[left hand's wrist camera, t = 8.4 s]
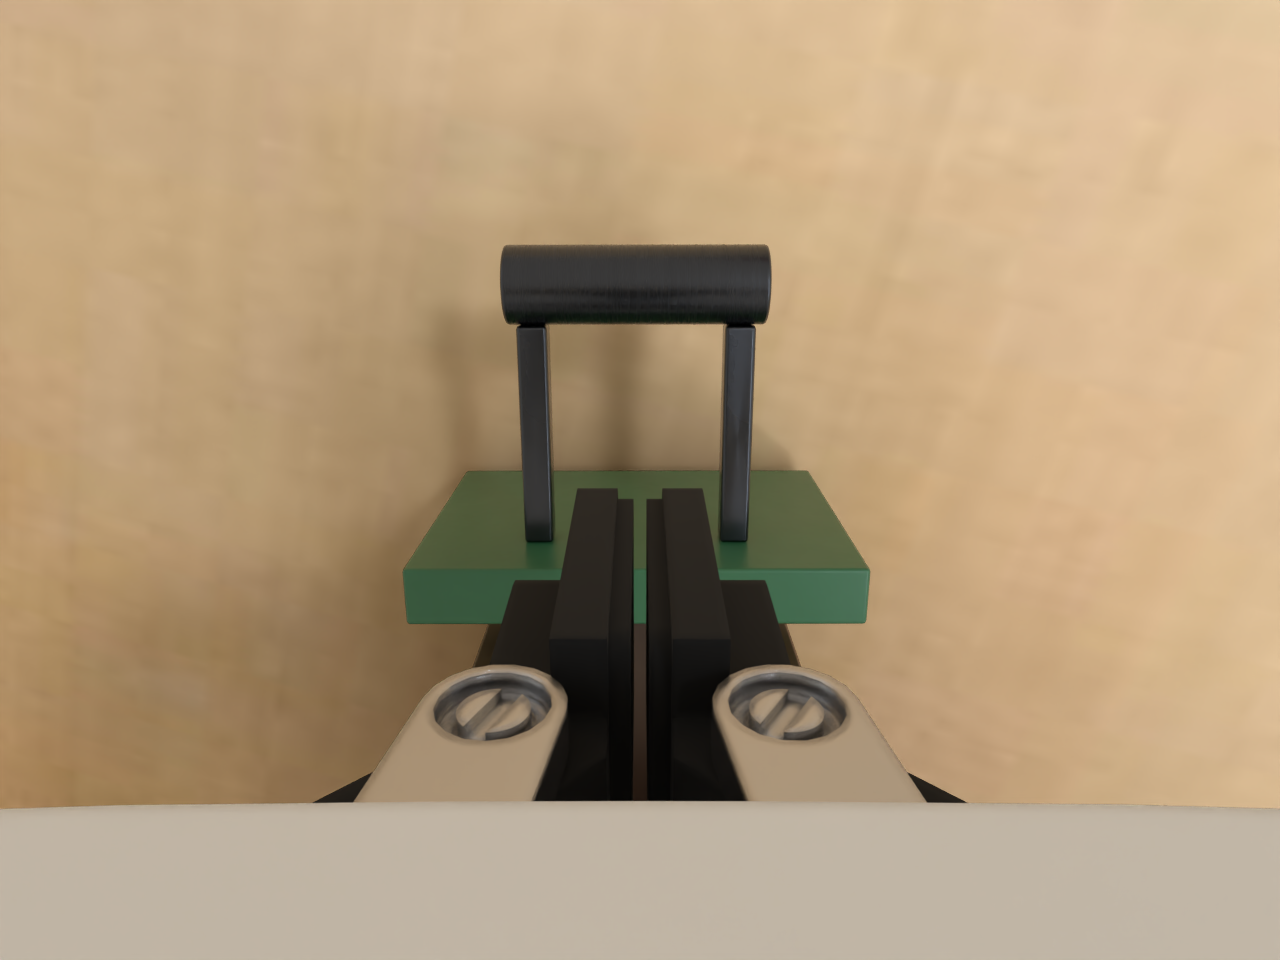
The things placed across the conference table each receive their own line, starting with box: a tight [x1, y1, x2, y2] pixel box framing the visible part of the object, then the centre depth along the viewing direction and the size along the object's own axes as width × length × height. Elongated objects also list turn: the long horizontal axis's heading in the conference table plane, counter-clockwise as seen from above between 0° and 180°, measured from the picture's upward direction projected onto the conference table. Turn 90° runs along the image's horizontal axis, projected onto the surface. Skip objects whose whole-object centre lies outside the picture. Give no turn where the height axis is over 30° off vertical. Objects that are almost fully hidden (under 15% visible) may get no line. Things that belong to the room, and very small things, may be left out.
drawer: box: [403, 245, 870, 801], centre depth 22 cm, size 21×9×7 cm, turn 0°
